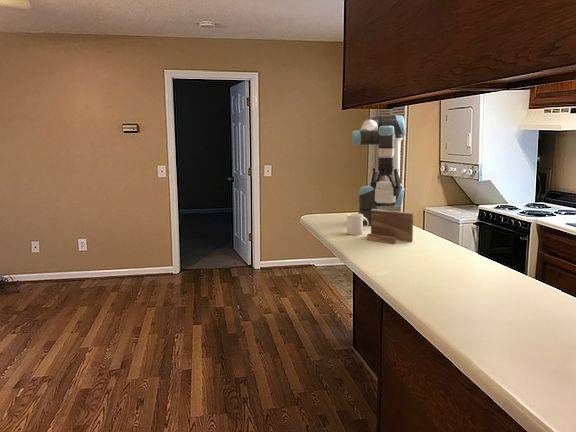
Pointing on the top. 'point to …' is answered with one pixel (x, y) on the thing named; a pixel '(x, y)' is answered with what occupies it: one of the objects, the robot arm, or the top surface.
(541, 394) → the top surface
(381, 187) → the small box
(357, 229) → the mug
